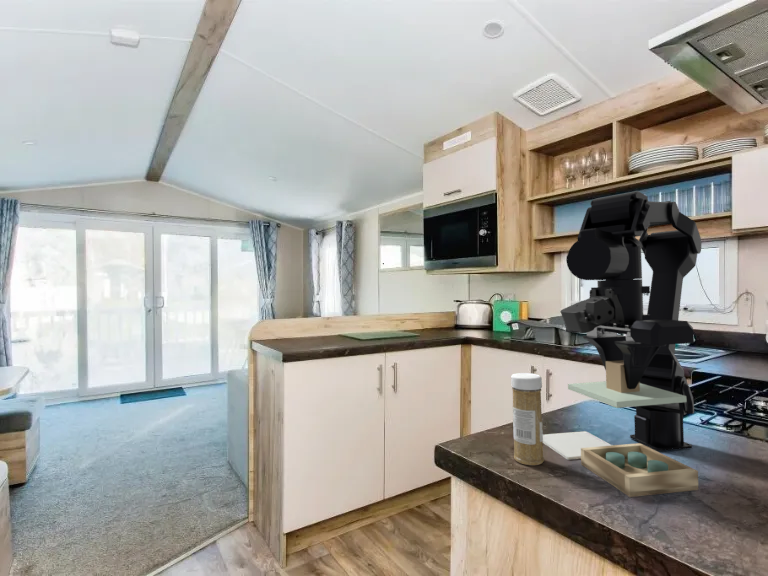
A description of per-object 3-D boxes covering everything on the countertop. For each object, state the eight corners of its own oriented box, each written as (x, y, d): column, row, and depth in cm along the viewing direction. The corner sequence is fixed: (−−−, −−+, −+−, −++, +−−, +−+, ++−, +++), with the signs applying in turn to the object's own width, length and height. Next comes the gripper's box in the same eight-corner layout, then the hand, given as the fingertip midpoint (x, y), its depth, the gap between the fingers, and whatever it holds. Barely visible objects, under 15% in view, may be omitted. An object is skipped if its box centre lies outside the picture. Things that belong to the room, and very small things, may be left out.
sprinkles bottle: (550, 461, 63) (547, 375, 63) (531, 469, 61) (529, 379, 61) (525, 452, 67) (523, 370, 67) (507, 459, 65) (504, 374, 65)
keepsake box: (640, 459, 63) (639, 443, 63) (698, 489, 53) (697, 470, 53) (581, 464, 62) (580, 448, 62) (629, 497, 52) (629, 477, 52)
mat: (585, 433, 75) (585, 431, 75) (625, 454, 65) (625, 452, 65) (535, 437, 74) (535, 435, 74) (567, 459, 64) (567, 457, 64)
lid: (627, 384, 66) (626, 355, 66) (686, 402, 55) (685, 366, 55) (568, 389, 64) (567, 358, 64) (616, 407, 54) (615, 371, 54)
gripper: (535, 282, 68) (537, 376, 68) (616, 279, 49) (620, 408, 49) (595, 281, 70) (598, 372, 69) (695, 277, 51) (699, 401, 51)
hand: (622, 386), depth 60 cm, fingers closed on lid, 3 cm apart
